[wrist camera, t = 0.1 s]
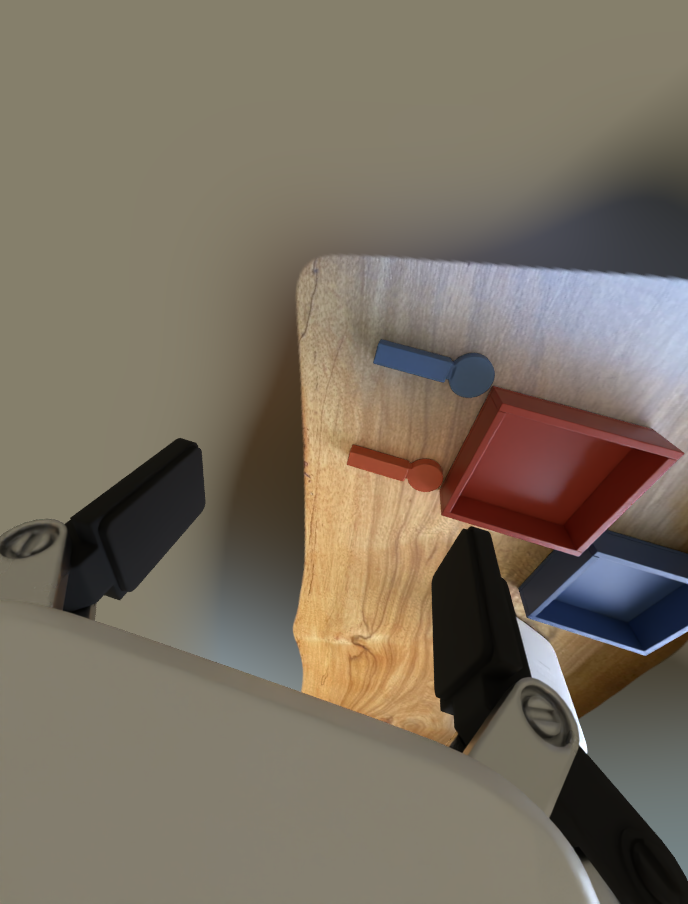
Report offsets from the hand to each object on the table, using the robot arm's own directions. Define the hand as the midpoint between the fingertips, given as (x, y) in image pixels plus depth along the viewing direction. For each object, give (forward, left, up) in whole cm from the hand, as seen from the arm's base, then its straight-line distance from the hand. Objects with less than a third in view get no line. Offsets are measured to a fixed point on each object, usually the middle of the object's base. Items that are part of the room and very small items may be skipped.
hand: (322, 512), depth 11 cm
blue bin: (+15, +28, -17) cm, 36 cm away
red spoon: (+9, +4, -17) cm, 20 cm away
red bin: (+5, +15, -17) cm, 23 cm away
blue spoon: (-1, +4, -17) cm, 18 cm away
